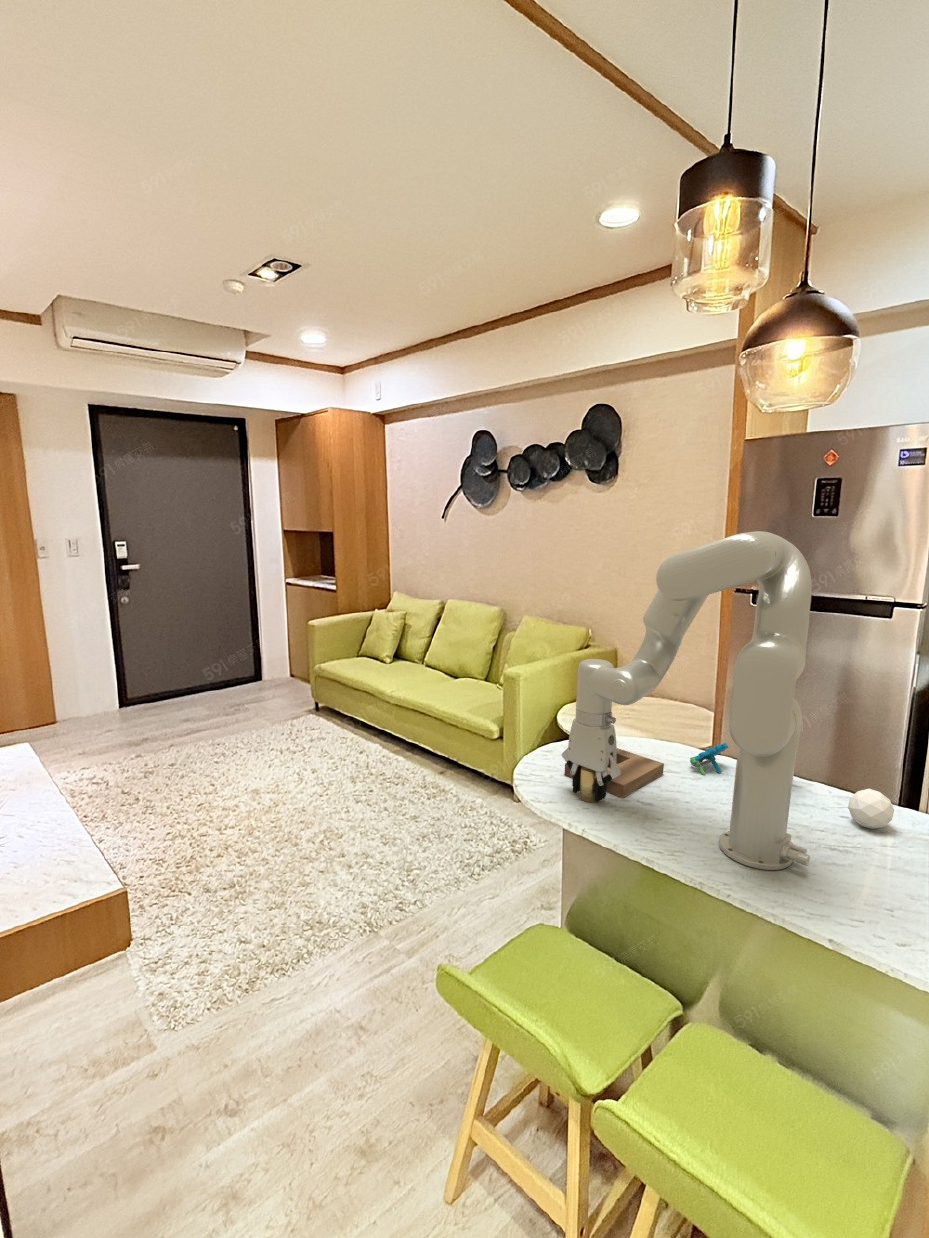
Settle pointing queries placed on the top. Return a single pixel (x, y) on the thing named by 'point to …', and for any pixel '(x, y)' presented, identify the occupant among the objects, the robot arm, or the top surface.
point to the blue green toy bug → (708, 757)
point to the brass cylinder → (587, 785)
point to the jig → (630, 773)
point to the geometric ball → (871, 808)
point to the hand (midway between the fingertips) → (588, 794)
